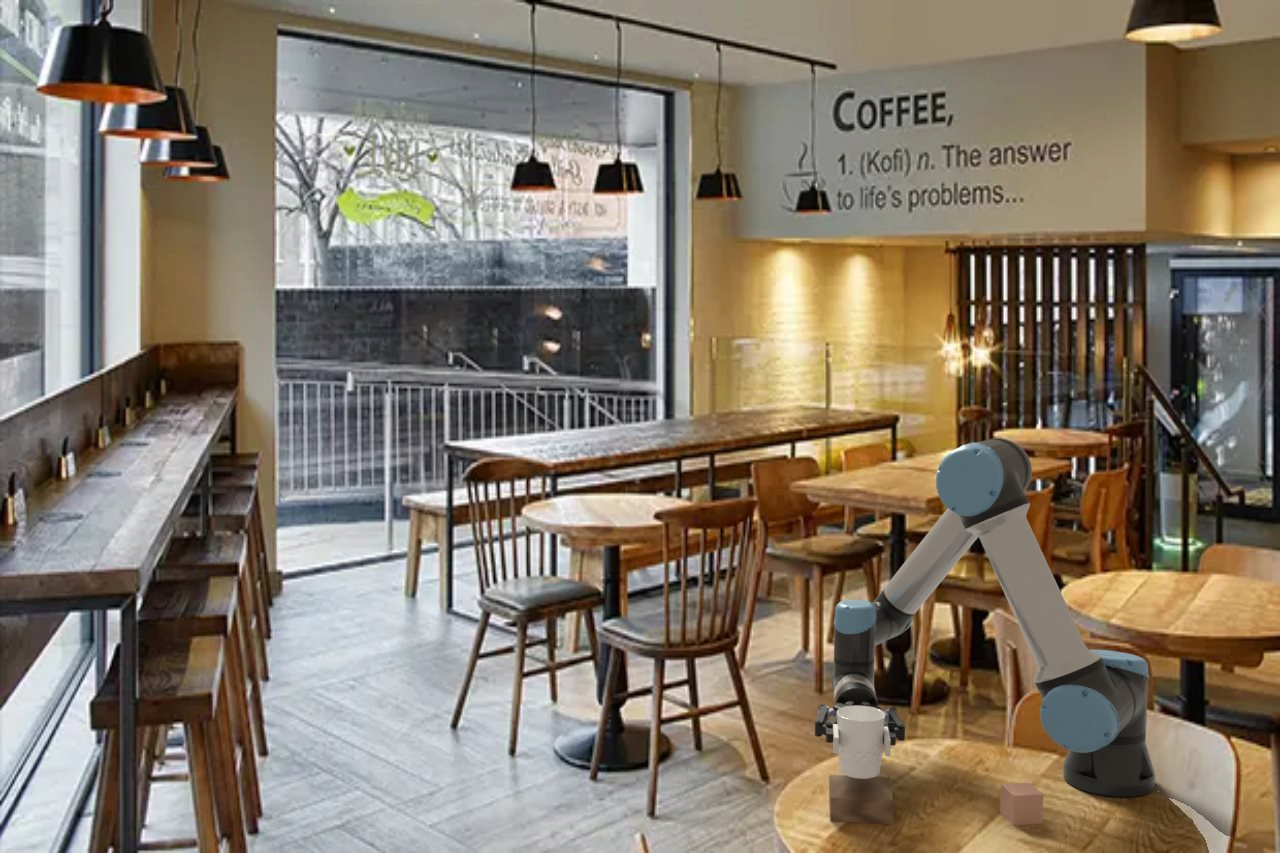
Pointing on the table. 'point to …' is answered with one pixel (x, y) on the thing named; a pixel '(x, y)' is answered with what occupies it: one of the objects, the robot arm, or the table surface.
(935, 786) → the table surface
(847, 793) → the walnut block
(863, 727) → the white cup
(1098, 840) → the table surface
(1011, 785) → the terracotta cube
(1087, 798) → the table surface
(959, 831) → the table surface
